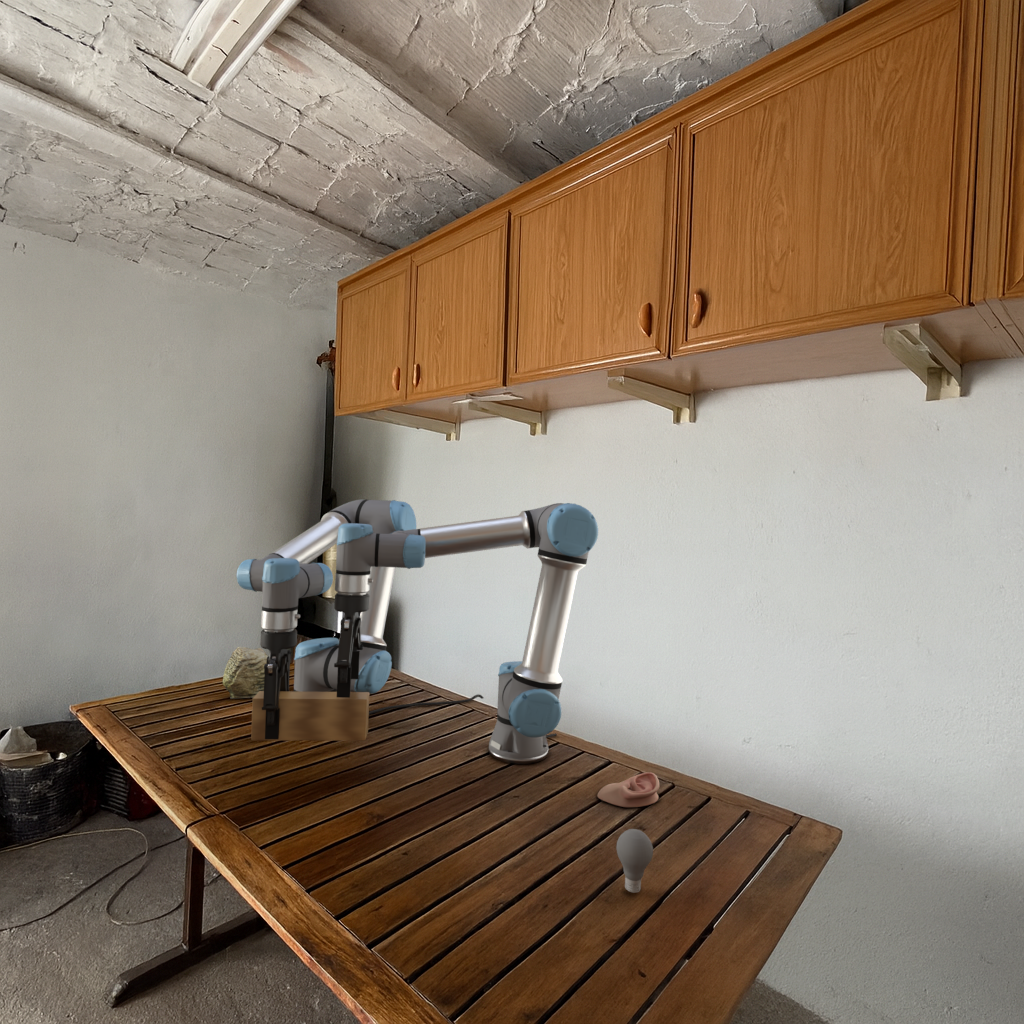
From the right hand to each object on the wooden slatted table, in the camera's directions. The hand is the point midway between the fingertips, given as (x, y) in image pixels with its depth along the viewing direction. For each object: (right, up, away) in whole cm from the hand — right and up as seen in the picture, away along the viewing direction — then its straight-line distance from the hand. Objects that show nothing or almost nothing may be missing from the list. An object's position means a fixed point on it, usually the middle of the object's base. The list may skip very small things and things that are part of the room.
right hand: (348, 687), depth 141 cm
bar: (-8, -11, -1) cm, 13 cm away
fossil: (-44, -18, +57) cm, 74 cm away
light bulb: (+57, -24, -36) cm, 71 cm away
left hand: (-16, -10, -1) cm, 18 cm away
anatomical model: (+62, -24, -1) cm, 67 cm away
